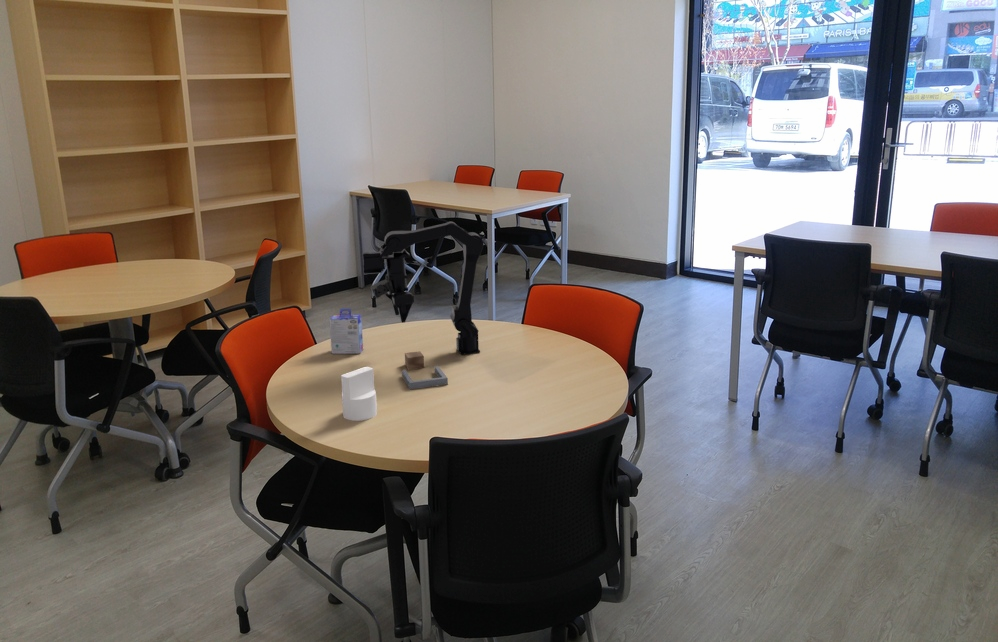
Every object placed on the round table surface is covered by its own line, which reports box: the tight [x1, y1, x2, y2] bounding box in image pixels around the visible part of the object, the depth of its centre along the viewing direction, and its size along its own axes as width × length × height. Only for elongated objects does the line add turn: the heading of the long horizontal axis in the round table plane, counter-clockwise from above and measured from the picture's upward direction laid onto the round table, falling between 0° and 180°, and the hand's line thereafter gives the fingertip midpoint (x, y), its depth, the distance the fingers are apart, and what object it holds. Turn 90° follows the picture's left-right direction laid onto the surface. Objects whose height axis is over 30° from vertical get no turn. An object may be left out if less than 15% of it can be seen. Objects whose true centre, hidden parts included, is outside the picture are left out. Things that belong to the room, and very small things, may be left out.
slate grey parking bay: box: [401, 365, 449, 390], centre depth 226 cm, size 11×11×2 cm
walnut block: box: [404, 350, 425, 370], centre depth 239 cm, size 5×5×4 cm
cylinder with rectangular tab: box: [340, 366, 378, 422], centre depth 202 cm, size 9×9×12 cm
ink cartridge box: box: [328, 308, 364, 355], centre depth 252 cm, size 10×6×14 cm, turn 89°
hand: (400, 318), depth 245 cm, fingers open, 9 cm apart
